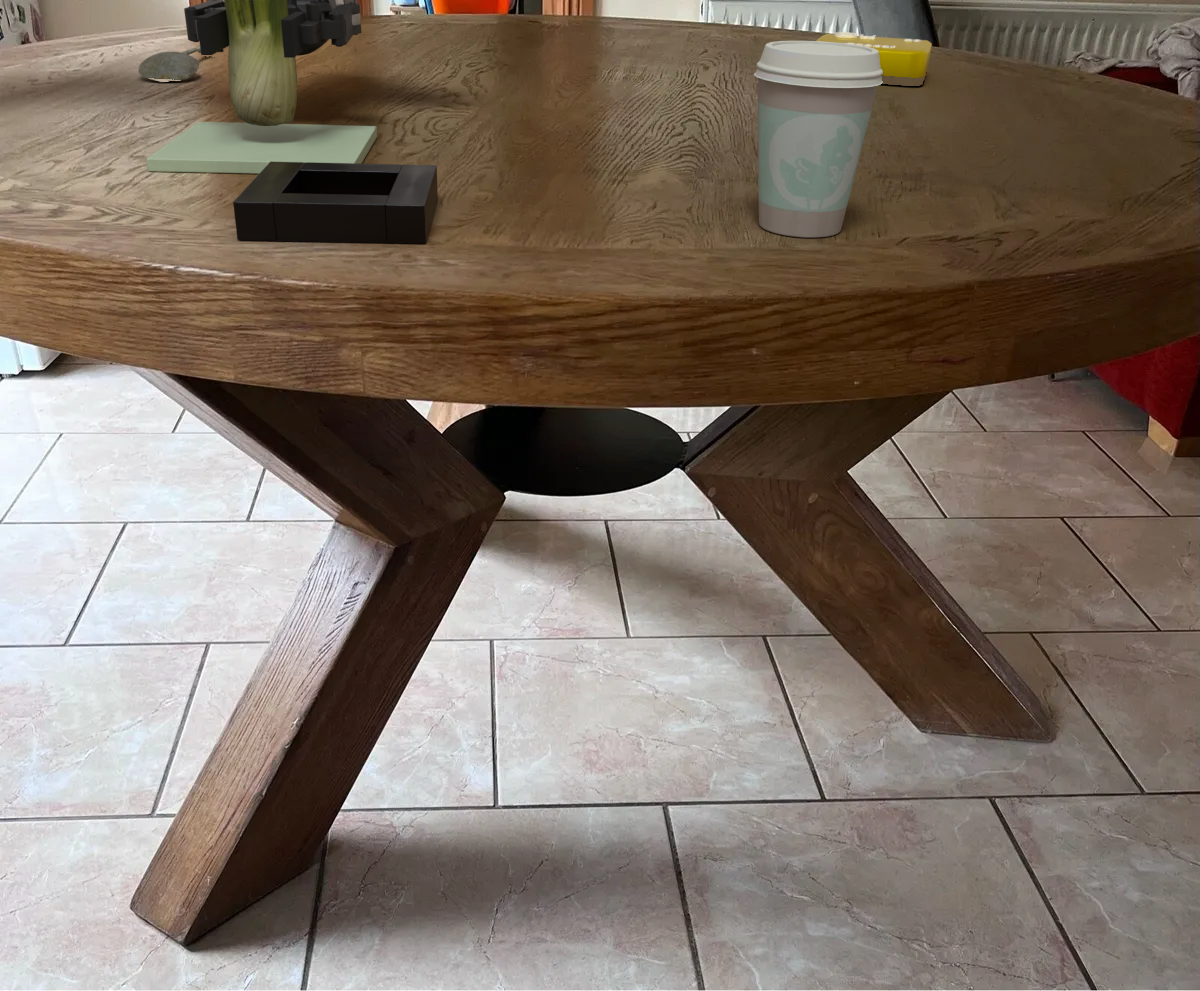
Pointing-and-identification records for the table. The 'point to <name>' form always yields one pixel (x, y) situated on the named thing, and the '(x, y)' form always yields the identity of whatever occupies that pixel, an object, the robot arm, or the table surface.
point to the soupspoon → (170, 65)
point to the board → (260, 147)
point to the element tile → (891, 52)
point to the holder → (338, 203)
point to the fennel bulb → (260, 63)
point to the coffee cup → (811, 132)
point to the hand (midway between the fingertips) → (245, 37)
